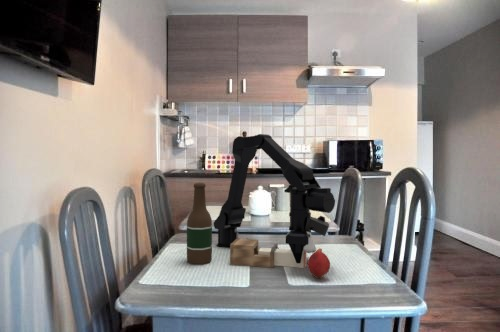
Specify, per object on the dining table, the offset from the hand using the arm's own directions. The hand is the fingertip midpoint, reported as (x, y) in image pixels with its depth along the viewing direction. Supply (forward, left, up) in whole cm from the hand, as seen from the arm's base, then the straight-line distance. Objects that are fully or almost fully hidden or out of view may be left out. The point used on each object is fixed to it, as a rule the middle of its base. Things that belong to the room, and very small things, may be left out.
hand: (299, 261), depth 106 cm
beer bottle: (-30, -3, -2) cm, 30 cm away
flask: (+1, +18, -2) cm, 18 cm away
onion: (+6, -10, -2) cm, 12 cm away
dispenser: (-13, 0, -1) cm, 13 cm away
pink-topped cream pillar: (-5, 0, -1) cm, 5 cm away
